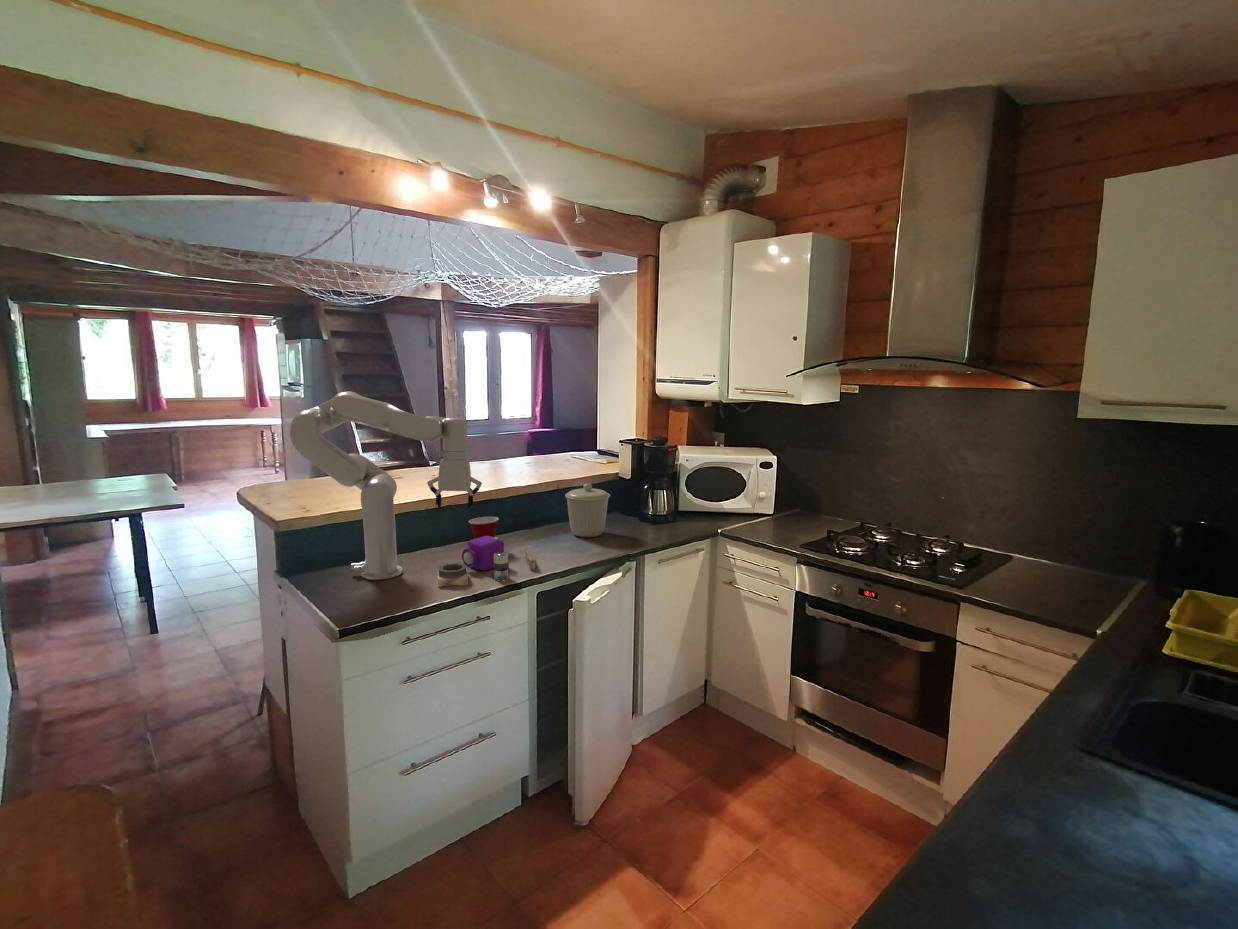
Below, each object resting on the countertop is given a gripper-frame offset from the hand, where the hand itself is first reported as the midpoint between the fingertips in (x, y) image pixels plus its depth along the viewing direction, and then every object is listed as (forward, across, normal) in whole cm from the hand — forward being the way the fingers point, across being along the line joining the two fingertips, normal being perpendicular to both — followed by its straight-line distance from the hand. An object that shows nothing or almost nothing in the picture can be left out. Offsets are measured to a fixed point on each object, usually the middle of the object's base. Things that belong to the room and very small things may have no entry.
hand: (454, 507), depth 200 cm
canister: (+20, +49, +38) cm, 65 cm away
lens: (+21, +16, -11) cm, 28 cm away
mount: (+21, +1, -11) cm, 24 cm away
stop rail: (+20, +25, +3) cm, 33 cm away
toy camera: (+21, +9, +1) cm, 23 cm away
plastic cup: (+21, +9, +20) cm, 31 cm away
